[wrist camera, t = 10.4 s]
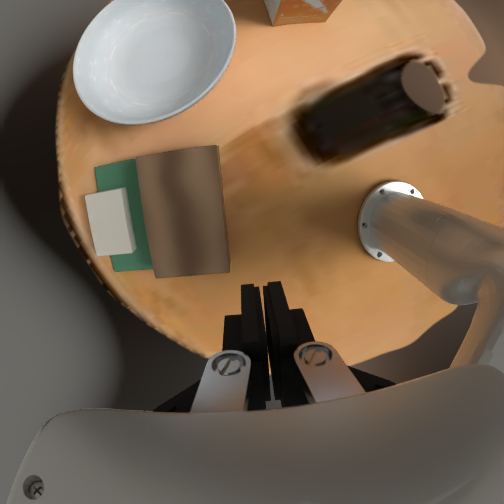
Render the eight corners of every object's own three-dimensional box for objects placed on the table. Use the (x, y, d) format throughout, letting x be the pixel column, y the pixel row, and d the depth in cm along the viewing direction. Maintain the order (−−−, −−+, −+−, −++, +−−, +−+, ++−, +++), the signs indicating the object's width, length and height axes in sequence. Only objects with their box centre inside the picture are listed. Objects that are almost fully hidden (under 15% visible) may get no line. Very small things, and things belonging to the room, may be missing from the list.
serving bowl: (235, -6, 27) (234, -30, 20) (239, 121, 34) (239, 113, 27) (100, 19, 26) (81, 3, 20) (94, 140, 33) (69, 140, 27)
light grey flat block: (84, 195, 33) (91, 193, 35) (96, 256, 36) (102, 251, 38) (120, 188, 33) (126, 186, 35) (132, 253, 36) (137, 248, 38)
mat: (144, 156, 34) (143, 157, 34) (161, 267, 40) (160, 268, 40) (96, 167, 34) (94, 167, 34) (115, 270, 40) (114, 271, 39)
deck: (218, 146, 35) (216, 145, 31) (230, 261, 40) (229, 272, 36) (145, 156, 34) (135, 157, 31) (162, 266, 40) (155, 278, 36)
